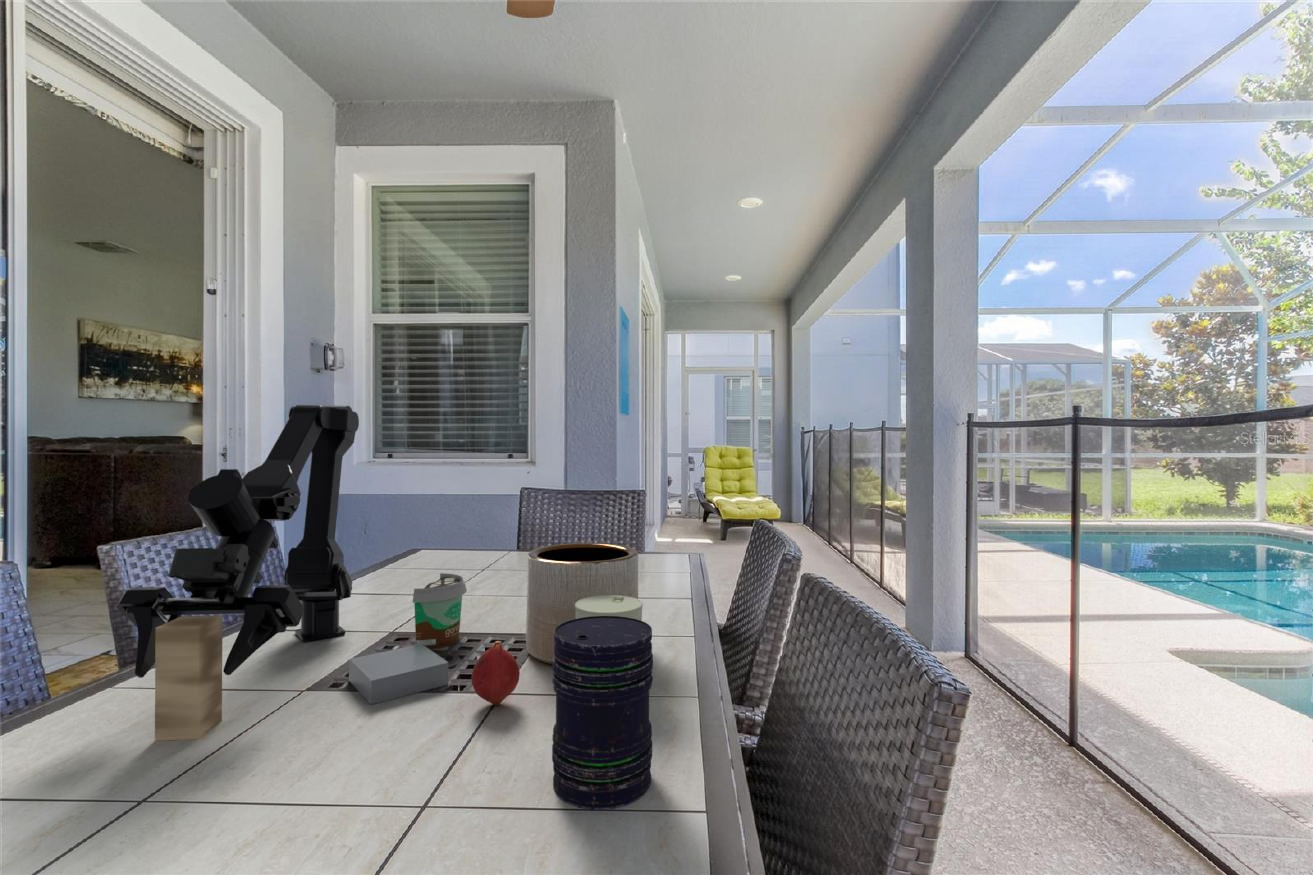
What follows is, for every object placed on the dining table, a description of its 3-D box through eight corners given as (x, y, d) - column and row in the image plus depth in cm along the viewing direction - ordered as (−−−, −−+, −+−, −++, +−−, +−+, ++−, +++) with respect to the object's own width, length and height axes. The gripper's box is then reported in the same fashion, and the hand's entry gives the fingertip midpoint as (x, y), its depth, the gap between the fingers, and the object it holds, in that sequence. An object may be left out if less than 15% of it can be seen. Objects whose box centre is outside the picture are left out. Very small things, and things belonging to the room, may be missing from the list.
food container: (451, 654, 98) (451, 590, 98) (412, 653, 98) (412, 589, 98) (475, 630, 110) (476, 572, 110) (441, 629, 110) (441, 572, 110)
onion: (476, 718, 75) (477, 651, 75) (467, 700, 81) (467, 638, 81) (524, 709, 78) (524, 644, 78) (512, 692, 83) (512, 631, 83)
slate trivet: (348, 680, 87) (349, 659, 87) (421, 664, 93) (421, 643, 93) (371, 704, 79) (371, 680, 79) (448, 684, 86) (448, 662, 86)
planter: (621, 628, 111) (622, 540, 111) (653, 663, 94) (653, 559, 94) (520, 638, 106) (520, 545, 106) (533, 676, 89) (534, 566, 89)
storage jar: (602, 746, 69) (603, 610, 69) (672, 777, 63) (673, 627, 63) (530, 784, 61) (531, 631, 61) (602, 824, 55) (603, 654, 55)
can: (651, 680, 88) (652, 594, 88) (627, 707, 79) (628, 611, 79) (591, 672, 91) (592, 589, 91) (561, 697, 82) (562, 605, 82)
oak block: (181, 722, 74) (181, 616, 74) (221, 720, 74) (222, 615, 74) (154, 740, 69) (155, 627, 69) (198, 739, 70) (199, 626, 70)
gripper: (128, 520, 75) (48, 642, 64) (293, 519, 77) (243, 638, 66) (171, 572, 83) (107, 689, 72) (320, 570, 85) (279, 683, 74)
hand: (182, 674), depth 71 cm, fingers open, 9 cm apart
